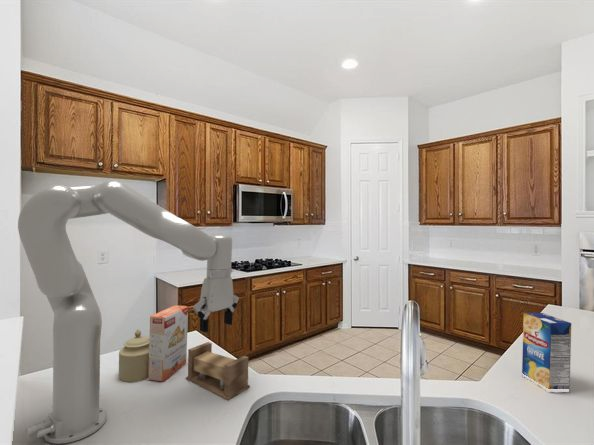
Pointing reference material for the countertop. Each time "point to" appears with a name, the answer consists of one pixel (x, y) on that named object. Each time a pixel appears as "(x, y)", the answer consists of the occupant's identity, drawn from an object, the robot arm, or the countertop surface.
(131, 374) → the sugar bowl
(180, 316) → the cracker box
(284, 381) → the countertop surface
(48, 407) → the countertop surface
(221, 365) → the light wood rectangular block
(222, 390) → the rack
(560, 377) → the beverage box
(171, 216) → the robot arm
